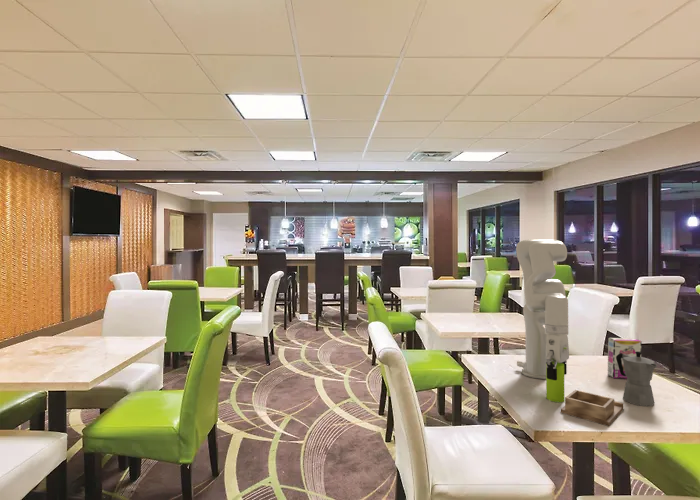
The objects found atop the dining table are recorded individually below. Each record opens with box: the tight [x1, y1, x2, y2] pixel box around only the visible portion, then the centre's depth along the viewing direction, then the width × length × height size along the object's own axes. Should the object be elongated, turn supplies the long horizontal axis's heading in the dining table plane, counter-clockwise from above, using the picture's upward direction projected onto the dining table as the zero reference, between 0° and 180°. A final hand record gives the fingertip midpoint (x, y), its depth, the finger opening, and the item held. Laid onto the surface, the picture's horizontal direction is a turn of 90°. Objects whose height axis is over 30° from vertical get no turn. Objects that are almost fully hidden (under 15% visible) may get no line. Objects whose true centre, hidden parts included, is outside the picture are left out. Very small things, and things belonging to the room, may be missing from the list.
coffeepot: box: [616, 351, 658, 407], centre depth 142 cm, size 15×9×18 cm, turn 13°
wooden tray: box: [560, 389, 624, 427], centre depth 133 cm, size 14×18×5 cm
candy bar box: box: [607, 337, 643, 380], centre depth 167 cm, size 11×5×16 cm, turn 84°
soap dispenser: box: [545, 347, 567, 403], centre depth 143 cm, size 6×7×20 cm
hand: (556, 376), depth 143 cm, fingers open, 9 cm apart
